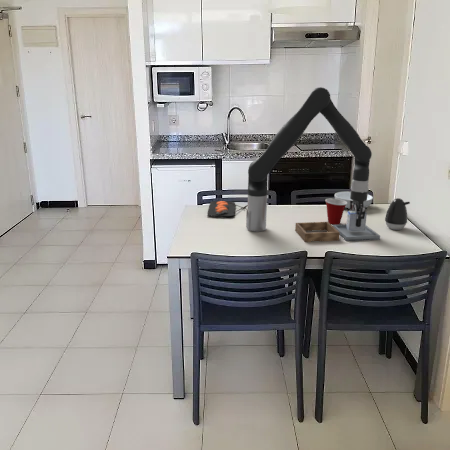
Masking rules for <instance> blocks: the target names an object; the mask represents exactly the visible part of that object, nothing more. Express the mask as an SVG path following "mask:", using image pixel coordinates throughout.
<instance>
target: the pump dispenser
mask: <svg viewBox="0 0 450 450" xmlns="http://www.w3.org/2000/svg"><path fill="white" fill-rule="evenodd" d="M410 204H411V202H410V201H404V200H403V199H402V198H397V197H396V198H394V199H393V200H392V202H391V203H390V205H389V206H388V208H387V210H386V214H385V217H384V221H385V225H386V227H387V228H388V229H390V230H393V231H394V230H395V231H400V230H403V229H404V228H405V227H406V225H407V224H408V211H407V207H406V205H410Z"/></svg>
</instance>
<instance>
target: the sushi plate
mask: <svg viewBox="0 0 450 450" xmlns="http://www.w3.org/2000/svg"><path fill="white" fill-rule="evenodd" d="M236 207H239V208H240V209H237V210H236ZM247 208H248V204H247V205H245V206H240V205H237V204H236V202H235V201H224V200H218V201H217V200H216V201H210V203H209V205H208V209H207V216H209V217H219V218H221V217H222V218H225V217H226V218H228V217H234V216H235V213H237V212H239V211H241V210H242V209H243V210H246V211H247Z"/></svg>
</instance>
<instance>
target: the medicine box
mask: <svg viewBox="0 0 450 450" xmlns="http://www.w3.org/2000/svg"><path fill="white" fill-rule="evenodd" d="M346 215H347V216H346V228H347V229H348V230H349V231H365V226H367V215H368V214H367V212H366V213H365V217H364V219H361V226H360V227H356V219H357V218H356V214H355V211H350V210H348V211H347V214H346ZM358 216H359V214H358ZM362 216H363V215H362Z"/></svg>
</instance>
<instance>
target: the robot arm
mask: <svg viewBox="0 0 450 450" xmlns="http://www.w3.org/2000/svg"><path fill="white" fill-rule="evenodd" d="M318 114H321V115H322V116H323V117H324V118H325V119H326V120H327V122H328V123H329V124H330V126H331V127H332V129H333V130H334V131H335V133H336V134H337V136H338V137H339V138H340V140H341V141H342V142H343V144H345V146H346V147H348V149H349V151H350V152H351V154H352V155H353V157H354V163H353V164H354V165H353V166H354V167H353V172H352V179H351V180H352V181H351V185H350V186H351V187H350V192H351V195H350V199H351V200H350V209H349V211H355V214H356V218H357V219H356V227H360V226H361V219H364V217H365V213H367V207H364V203H363V202H364V201H366V200H367V195H369V179H370V161H371V159H372V155H373V153H372V150H371V148H370V147H369V146H368V145H367V144H366V143H365V142H364V141H363V140H362V138H361V137H360V135H359V133H358V132H357V130H356V129H355V128H354V127H353V125H351V122H349V121H348V120H347V119H346V117H344V115H342V114H341V112H340V111H339V109H337V107H336V106H335V104H334V102H333V101H332V99H331V93H330V91H329V90H328V89H327V88H324V87H322V86H321V87H316V88H314V89H312V91H310V93H309V95H308V96H307V98H306V100H305V101H304V102H303V104H302V106H301V107H300V108H299V110H297V112H296V113H294V114H293V115H292V116H291V117H290V118H289V119H288V120H287V121H286V122H285V123H284V124H283V125H282V127H281V128H280V129H279V130H278V131H277V133H276V134H275V135H274V137H273V138H272V140H271V141H270V143H269V145H268V146H267V147H266V150H265V151H264V152H263V153H262V154H261V156H260V157H259V158H257V159H255V160H253V161H252V162H251V163H250V164H249V165H248V171H247V174H248V180H247V205H248V206H247V207H246V209H247V210H246V218H245V220H246V223H245V224H246V225H245V227H246V230H247V231H248V232H263V231H266V230H267V210H268V209H267V208H268V188H269V187H268V180H269V178H268V177H269V174H270V173H271V171H272V169H273V168H274V167H275V165H276V164H277V163H278V162H279V160H280V159H281V158H283V157H284V156H285V155H286V154H287V153H288V152H289V150H291V148H292V147H293V146H294V145H295V144H296V143H297V142H298V140H299V139H300V138H301V137H302V136H303V134H304V133H305V131H306V129H308V126H309V125H310V123H311V122H312V121H313V120H314V118H316V117H317V116H318ZM358 214H359V216H358ZM362 215H363V216H362Z"/></svg>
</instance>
